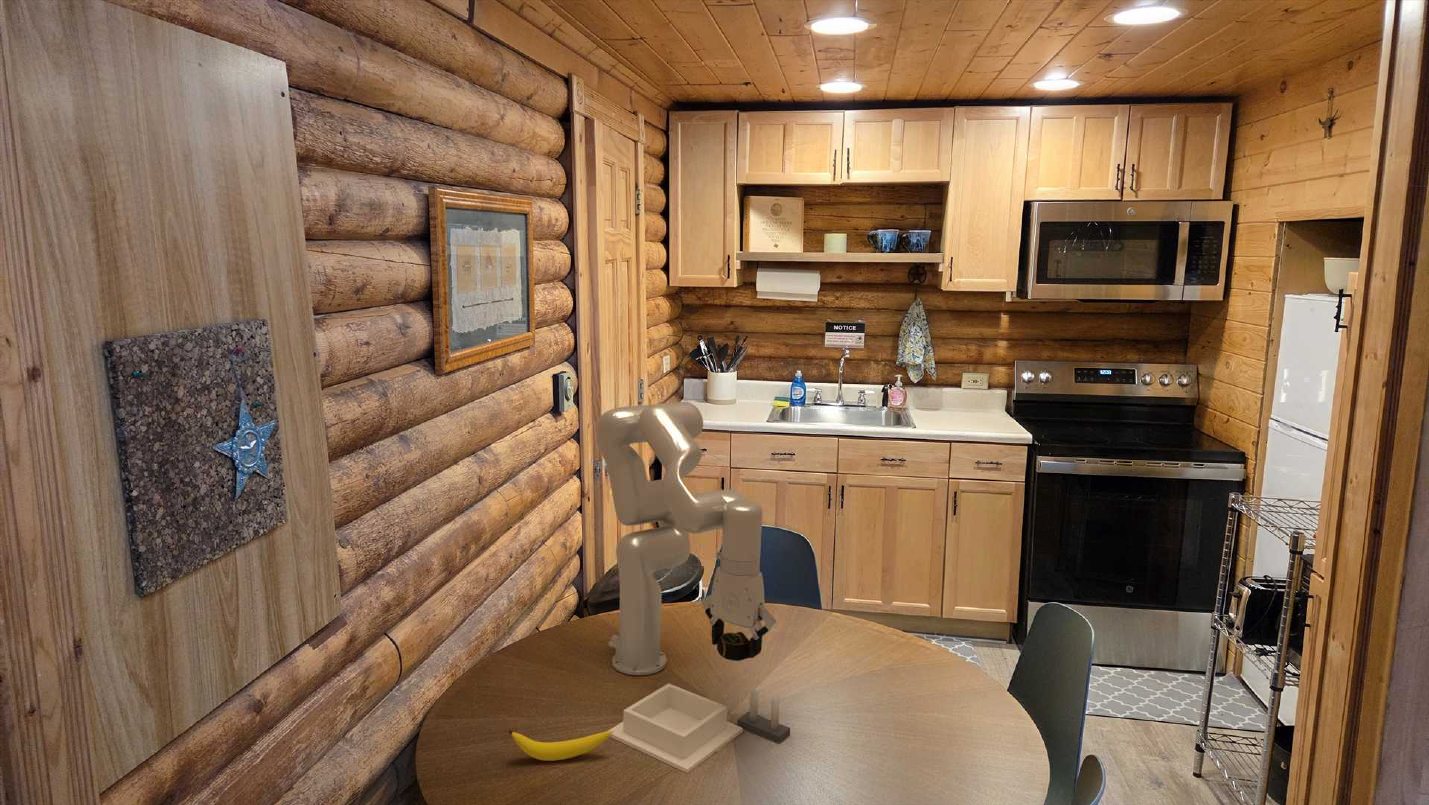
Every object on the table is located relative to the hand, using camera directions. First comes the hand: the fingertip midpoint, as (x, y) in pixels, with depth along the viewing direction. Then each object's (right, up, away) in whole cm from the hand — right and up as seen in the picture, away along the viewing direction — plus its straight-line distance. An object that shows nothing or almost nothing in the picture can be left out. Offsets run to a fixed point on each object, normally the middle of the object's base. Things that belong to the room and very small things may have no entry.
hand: (735, 648), depth 165 cm
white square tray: (-12, -17, +1) cm, 21 cm away
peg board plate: (+6, -17, +3) cm, 19 cm away
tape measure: (0, -2, +1) cm, 2 cm away
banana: (-33, -18, -9) cm, 38 cm away
